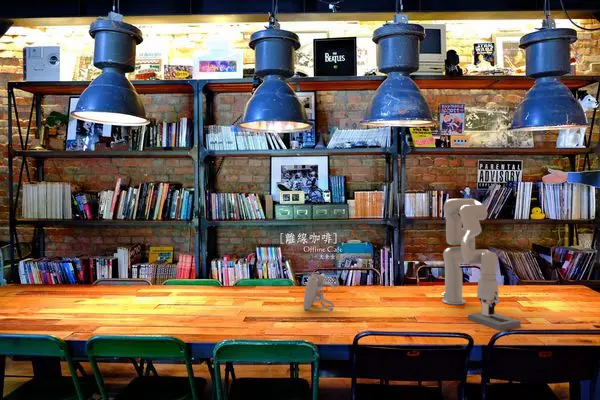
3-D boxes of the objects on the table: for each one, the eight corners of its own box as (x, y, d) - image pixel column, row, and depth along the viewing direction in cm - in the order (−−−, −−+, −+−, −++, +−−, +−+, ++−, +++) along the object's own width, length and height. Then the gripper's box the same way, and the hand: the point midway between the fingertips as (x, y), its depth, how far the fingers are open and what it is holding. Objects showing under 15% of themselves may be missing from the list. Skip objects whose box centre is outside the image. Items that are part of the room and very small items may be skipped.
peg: (481, 319, 251) (481, 302, 251) (487, 318, 253) (488, 301, 253) (487, 321, 248) (487, 304, 247) (493, 320, 249) (494, 303, 249)
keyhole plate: (468, 319, 253) (468, 314, 253) (489, 315, 259) (489, 311, 259) (498, 330, 235) (498, 324, 235) (520, 326, 241) (520, 321, 241)
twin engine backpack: (331, 318, 269) (340, 282, 267) (297, 308, 272) (306, 273, 270) (335, 309, 286) (343, 276, 284) (304, 300, 289) (312, 267, 287)
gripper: (470, 274, 255) (470, 310, 256) (495, 280, 240) (495, 318, 241) (481, 273, 258) (481, 308, 259) (507, 279, 243) (506, 316, 244)
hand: (487, 312), depth 250 cm, fingers closed on peg, 4 cm apart
